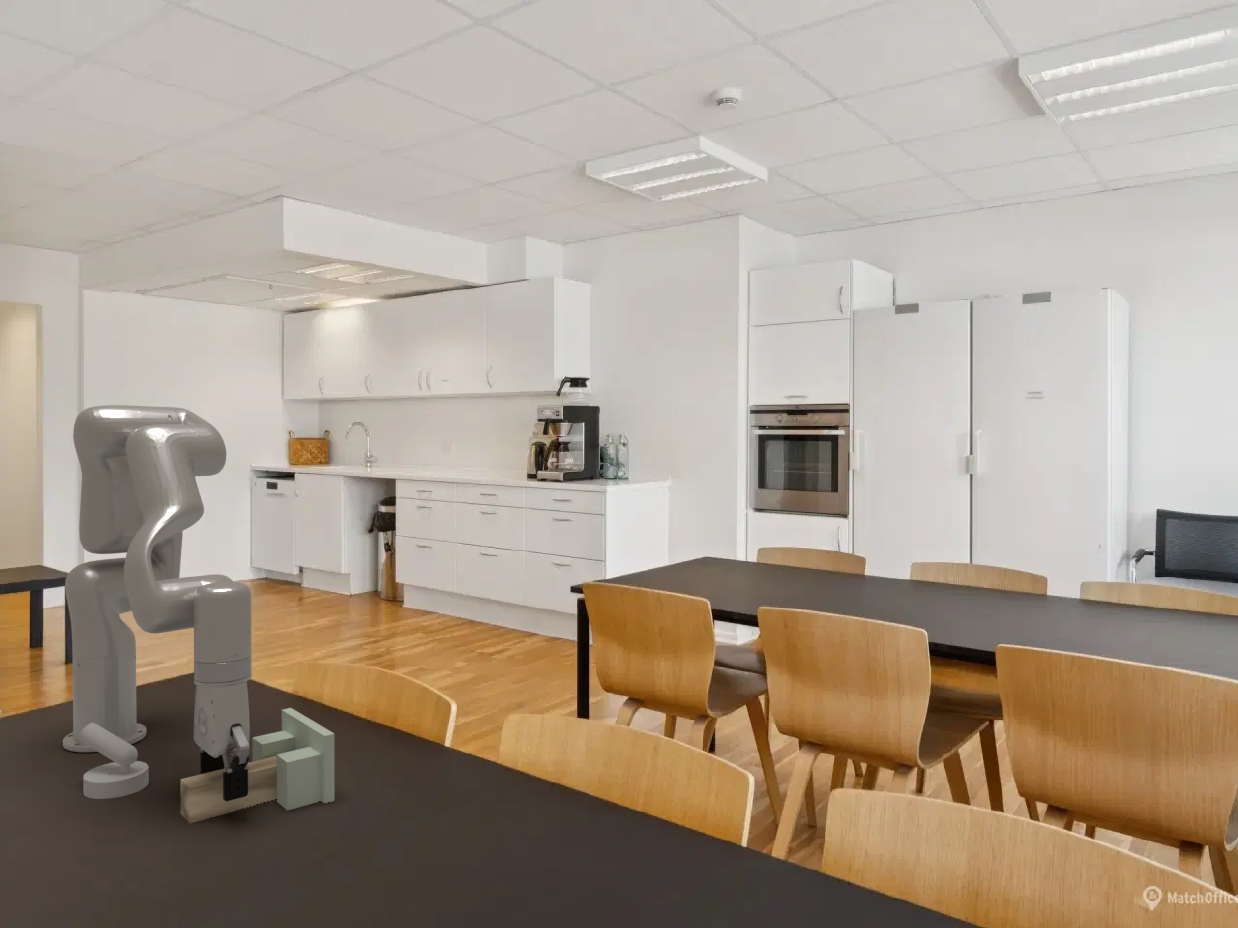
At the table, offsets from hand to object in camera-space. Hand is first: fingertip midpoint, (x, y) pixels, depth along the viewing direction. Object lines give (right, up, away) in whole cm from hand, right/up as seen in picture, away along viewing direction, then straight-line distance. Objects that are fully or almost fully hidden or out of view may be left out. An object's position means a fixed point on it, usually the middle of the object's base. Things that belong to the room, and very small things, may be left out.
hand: (223, 787), depth 126 cm
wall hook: (-20, -3, +7) cm, 22 cm away
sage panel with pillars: (+7, -3, +6) cm, 9 cm away
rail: (+2, -3, +2) cm, 4 cm away
